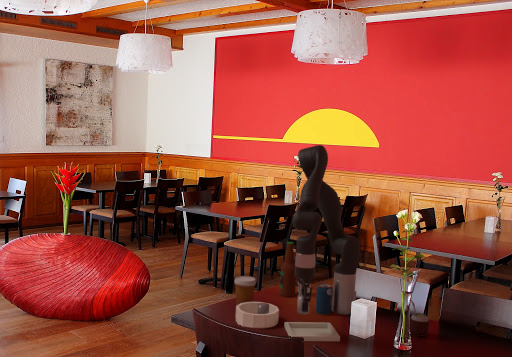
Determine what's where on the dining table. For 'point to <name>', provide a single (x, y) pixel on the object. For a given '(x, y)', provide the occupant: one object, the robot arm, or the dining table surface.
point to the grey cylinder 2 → (299, 306)
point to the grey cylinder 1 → (263, 308)
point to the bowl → (256, 315)
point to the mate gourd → (419, 323)
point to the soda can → (324, 299)
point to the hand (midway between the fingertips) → (303, 309)
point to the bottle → (288, 273)
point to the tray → (312, 331)
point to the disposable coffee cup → (244, 289)
